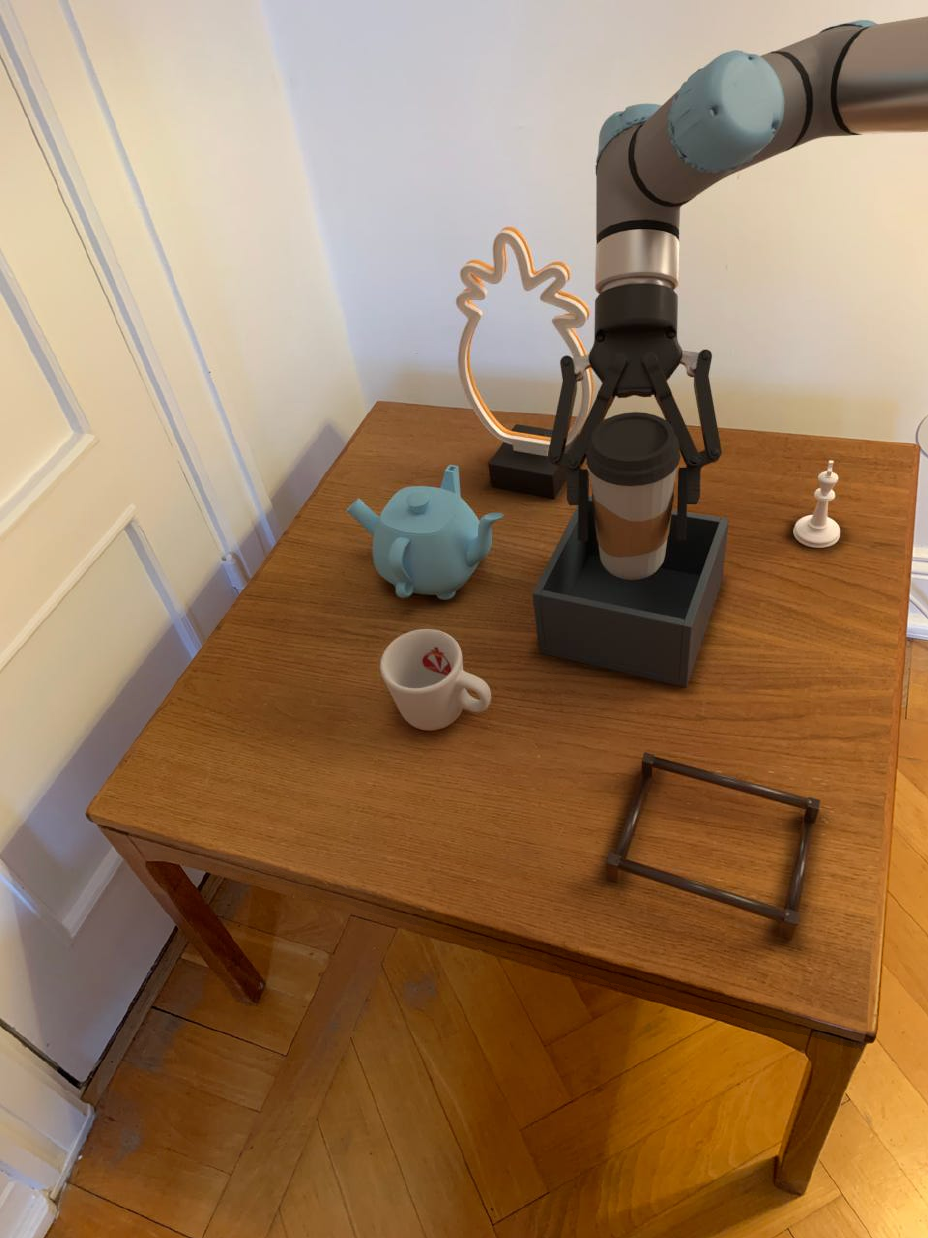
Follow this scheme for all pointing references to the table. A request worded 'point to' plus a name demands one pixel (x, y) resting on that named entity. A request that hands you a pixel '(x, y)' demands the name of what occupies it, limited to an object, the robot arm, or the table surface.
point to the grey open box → (632, 602)
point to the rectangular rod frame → (784, 916)
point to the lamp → (526, 446)
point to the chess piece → (820, 515)
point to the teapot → (427, 538)
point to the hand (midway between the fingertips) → (631, 540)
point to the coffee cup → (632, 491)
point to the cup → (430, 679)
